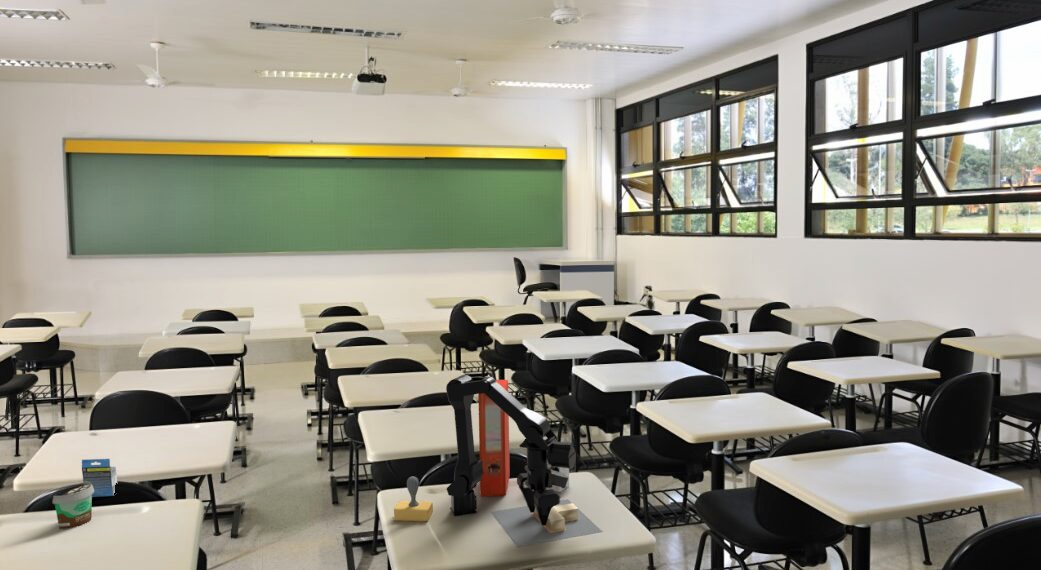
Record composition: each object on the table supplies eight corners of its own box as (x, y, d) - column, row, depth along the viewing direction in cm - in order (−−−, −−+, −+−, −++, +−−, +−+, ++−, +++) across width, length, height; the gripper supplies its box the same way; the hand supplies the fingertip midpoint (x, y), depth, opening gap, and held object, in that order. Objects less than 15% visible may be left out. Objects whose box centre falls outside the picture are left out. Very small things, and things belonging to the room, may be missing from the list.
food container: (74, 532, 210) (70, 497, 209) (55, 530, 212) (51, 496, 211) (106, 514, 222) (103, 481, 221) (88, 513, 224) (85, 480, 223)
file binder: (510, 476, 246) (508, 379, 242) (506, 496, 229) (504, 393, 225) (485, 476, 246) (483, 379, 243) (480, 496, 229) (477, 393, 226)
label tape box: (118, 491, 240) (115, 454, 239) (112, 496, 236) (109, 458, 235) (90, 493, 240) (87, 455, 238) (83, 498, 236) (80, 459, 234)
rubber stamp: (433, 513, 217) (431, 473, 216) (428, 522, 212) (426, 480, 210) (399, 512, 219) (398, 472, 217) (394, 521, 213) (392, 480, 212)
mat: (517, 548, 194) (517, 546, 194) (490, 513, 216) (490, 511, 216) (602, 533, 202) (602, 531, 202) (567, 500, 224) (567, 499, 224)
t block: (551, 531, 202) (550, 521, 202) (533, 512, 215) (533, 502, 215) (585, 525, 205) (585, 515, 205) (565, 506, 218) (565, 496, 218)
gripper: (578, 471, 200) (578, 527, 202) (552, 450, 218) (552, 502, 220) (538, 476, 197) (539, 534, 198) (515, 454, 214) (516, 507, 216)
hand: (537, 518), depth 208 cm, fingers open, 9 cm apart
